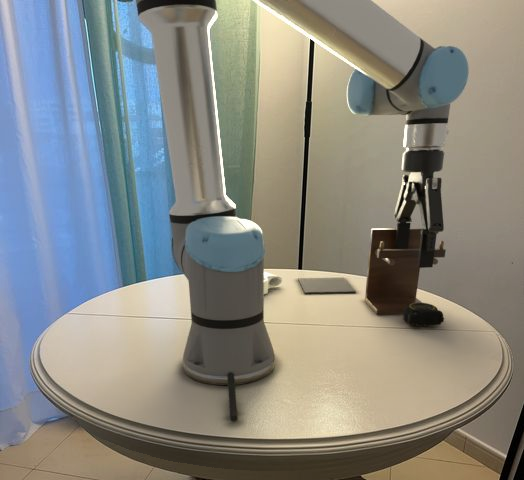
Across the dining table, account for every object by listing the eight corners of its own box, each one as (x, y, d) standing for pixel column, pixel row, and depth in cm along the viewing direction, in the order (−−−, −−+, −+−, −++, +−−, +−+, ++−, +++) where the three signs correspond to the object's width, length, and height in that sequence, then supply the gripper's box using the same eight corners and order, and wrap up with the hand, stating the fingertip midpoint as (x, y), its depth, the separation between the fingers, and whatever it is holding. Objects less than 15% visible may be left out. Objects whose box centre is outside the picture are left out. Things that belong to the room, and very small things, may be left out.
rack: (433, 316, 98) (446, 237, 92) (379, 317, 98) (387, 238, 91) (413, 300, 110) (423, 228, 103) (364, 301, 109) (371, 228, 102)
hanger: (444, 257, 95) (447, 241, 93) (378, 258, 94) (380, 242, 93) (441, 255, 96) (443, 240, 95) (376, 256, 95) (378, 241, 94)
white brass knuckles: (289, 288, 119) (244, 299, 111) (249, 275, 132) (206, 284, 124) (290, 276, 118) (244, 285, 109) (248, 264, 131) (205, 271, 122)
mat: (355, 292, 115) (355, 291, 115) (304, 293, 115) (305, 292, 115) (343, 278, 128) (343, 277, 128) (298, 279, 128) (298, 278, 127)
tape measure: (409, 330, 91) (411, 312, 90) (398, 318, 97) (400, 301, 96) (442, 329, 91) (445, 311, 90) (429, 317, 98) (431, 301, 96)
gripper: (475, 148, 75) (456, 273, 84) (418, 149, 98) (408, 247, 107) (431, 149, 75) (417, 275, 84) (384, 150, 98) (377, 248, 107)
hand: (412, 260), depth 95 cm, fingers open, 13 cm apart
